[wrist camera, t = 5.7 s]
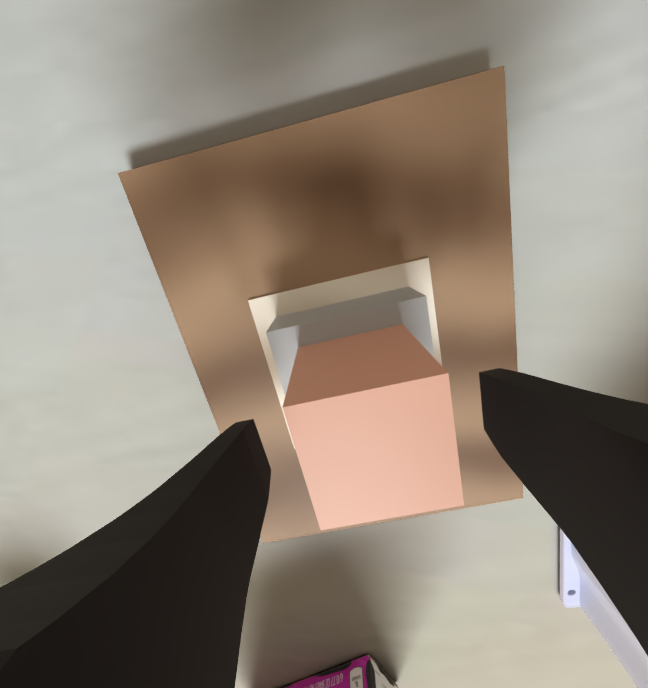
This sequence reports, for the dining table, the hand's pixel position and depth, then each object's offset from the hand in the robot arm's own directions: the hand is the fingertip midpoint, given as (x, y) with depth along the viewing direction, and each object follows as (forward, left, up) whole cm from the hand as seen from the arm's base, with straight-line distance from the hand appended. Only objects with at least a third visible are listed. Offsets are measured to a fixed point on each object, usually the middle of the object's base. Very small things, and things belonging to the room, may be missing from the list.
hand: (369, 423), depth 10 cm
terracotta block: (0, 0, -3) cm, 3 cm away
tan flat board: (0, 0, -6) cm, 6 cm away
